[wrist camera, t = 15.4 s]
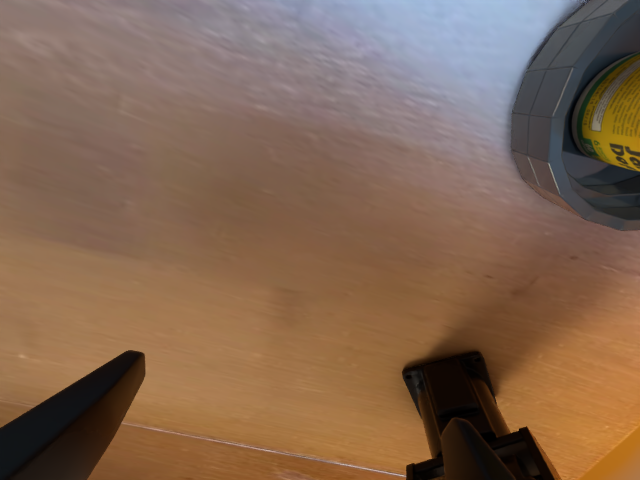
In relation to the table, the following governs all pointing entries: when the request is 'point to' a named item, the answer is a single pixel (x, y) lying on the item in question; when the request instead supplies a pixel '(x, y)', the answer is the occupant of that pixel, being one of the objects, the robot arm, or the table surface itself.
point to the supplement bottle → (611, 115)
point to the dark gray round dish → (557, 111)
